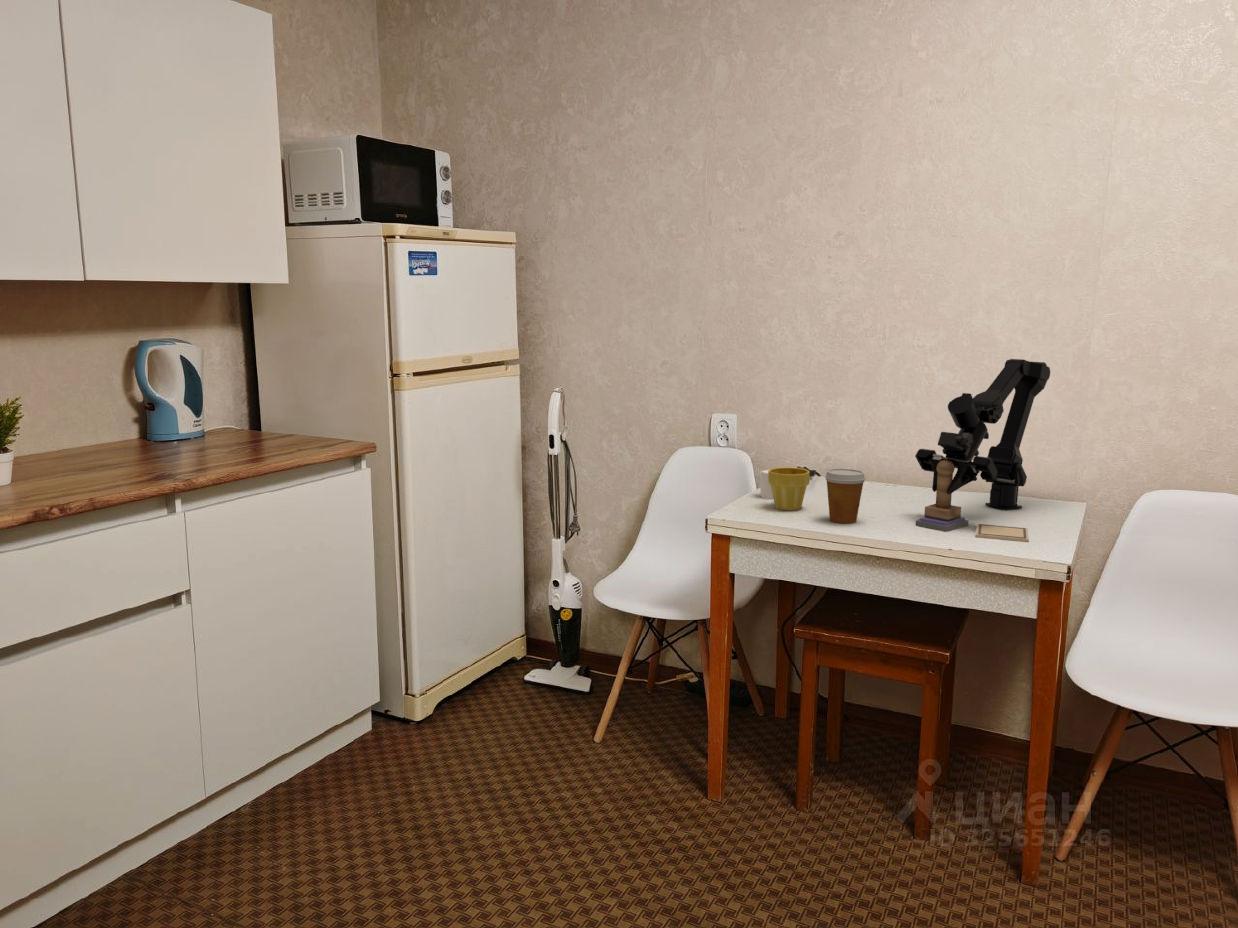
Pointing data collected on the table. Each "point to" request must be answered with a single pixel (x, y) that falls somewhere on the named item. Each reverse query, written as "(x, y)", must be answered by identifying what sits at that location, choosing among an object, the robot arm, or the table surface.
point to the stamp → (943, 495)
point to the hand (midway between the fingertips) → (940, 491)
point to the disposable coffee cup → (844, 494)
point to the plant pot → (788, 486)
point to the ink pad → (941, 523)
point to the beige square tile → (1002, 532)
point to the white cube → (765, 485)
